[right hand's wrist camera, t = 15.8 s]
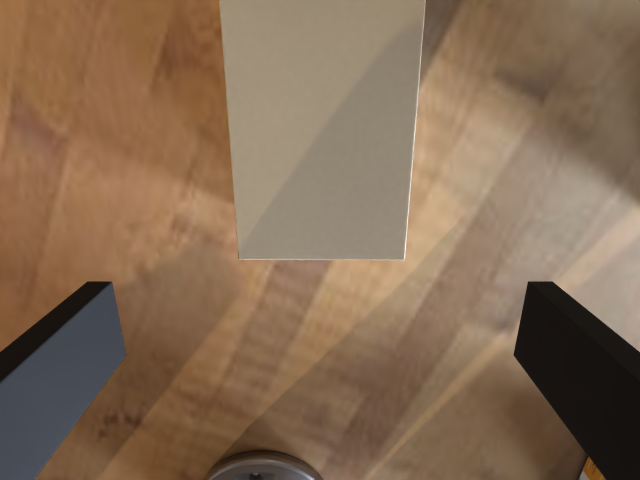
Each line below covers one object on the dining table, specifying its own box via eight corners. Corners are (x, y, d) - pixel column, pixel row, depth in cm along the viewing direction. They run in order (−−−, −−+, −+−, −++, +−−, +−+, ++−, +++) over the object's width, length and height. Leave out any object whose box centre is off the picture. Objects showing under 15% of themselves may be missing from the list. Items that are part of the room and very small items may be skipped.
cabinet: (246, -41, 29) (211, -104, 20) (397, -41, 29) (434, -104, 20) (260, 215, 36) (238, 259, 26) (382, 215, 36) (404, 260, 26)
